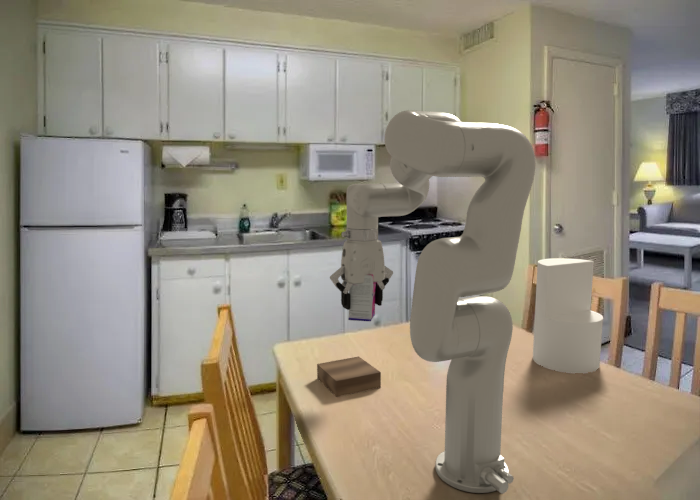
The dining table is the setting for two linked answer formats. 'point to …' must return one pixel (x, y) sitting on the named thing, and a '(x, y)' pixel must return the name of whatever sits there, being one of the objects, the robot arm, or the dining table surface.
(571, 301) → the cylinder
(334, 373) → the walnut riser block
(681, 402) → the dining table surface
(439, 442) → the dining table surface
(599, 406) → the dining table surface
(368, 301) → the supplement box
